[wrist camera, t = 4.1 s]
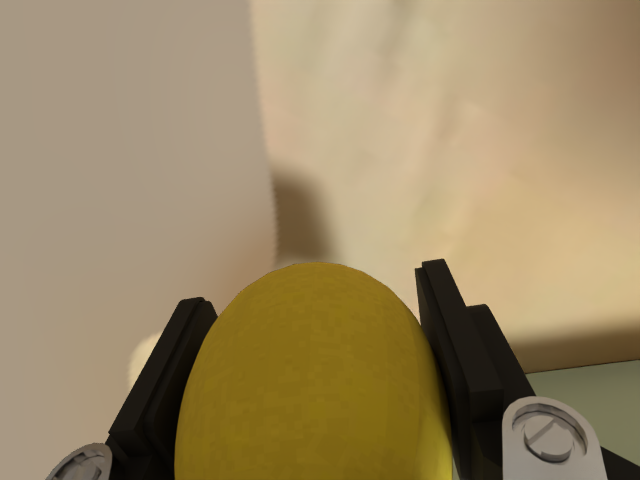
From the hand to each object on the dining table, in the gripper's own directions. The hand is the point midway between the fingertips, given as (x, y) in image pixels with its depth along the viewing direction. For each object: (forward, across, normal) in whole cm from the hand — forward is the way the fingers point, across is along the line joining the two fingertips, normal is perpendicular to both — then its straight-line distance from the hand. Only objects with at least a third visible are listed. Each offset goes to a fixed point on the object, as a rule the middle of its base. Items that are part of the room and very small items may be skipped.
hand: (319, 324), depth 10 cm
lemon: (+2, 0, 0) cm, 2 cm away
